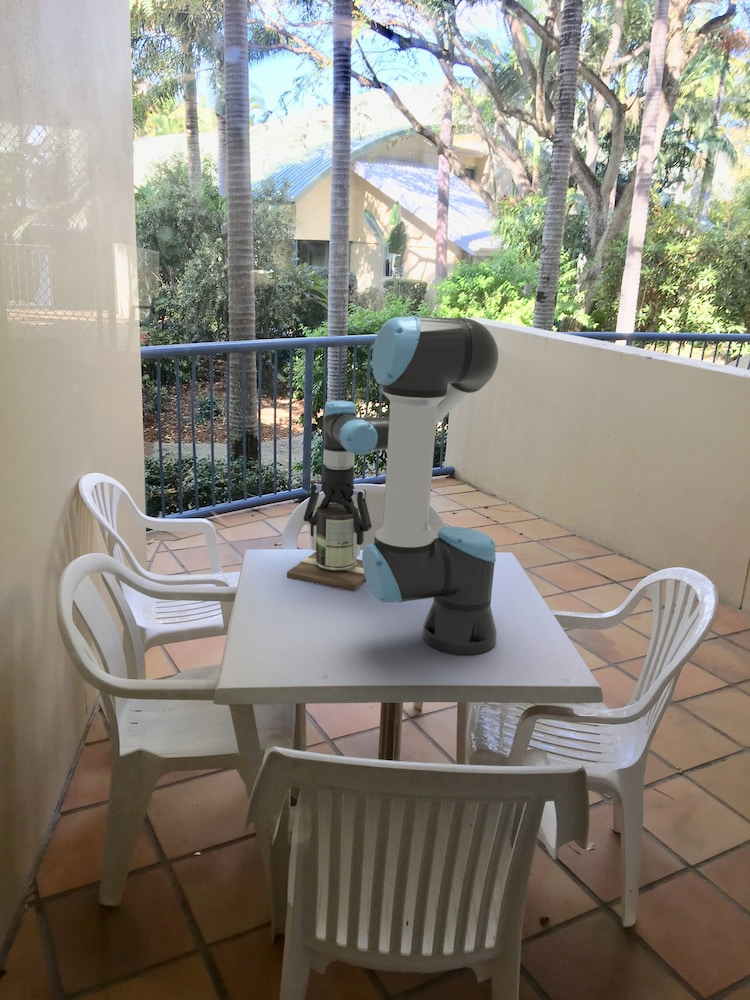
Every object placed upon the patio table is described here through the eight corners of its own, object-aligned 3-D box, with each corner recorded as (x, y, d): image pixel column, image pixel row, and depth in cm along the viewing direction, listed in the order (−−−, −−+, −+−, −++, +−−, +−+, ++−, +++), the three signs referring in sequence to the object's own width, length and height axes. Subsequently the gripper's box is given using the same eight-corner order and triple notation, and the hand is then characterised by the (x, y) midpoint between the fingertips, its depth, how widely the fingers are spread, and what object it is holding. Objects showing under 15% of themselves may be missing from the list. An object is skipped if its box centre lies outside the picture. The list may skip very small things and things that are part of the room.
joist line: (366, 574, 181) (366, 573, 181) (301, 561, 188) (301, 561, 188) (371, 570, 184) (371, 569, 184) (306, 558, 190) (306, 557, 190)
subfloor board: (354, 591, 175) (354, 585, 175) (286, 577, 181) (286, 571, 181) (379, 568, 189) (379, 563, 189) (316, 556, 196) (316, 551, 195)
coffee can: (307, 564, 184) (308, 510, 180) (330, 552, 192) (331, 500, 188) (342, 573, 179) (344, 518, 175) (364, 561, 187) (366, 508, 183)
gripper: (388, 468, 178) (384, 555, 184) (304, 457, 186) (302, 540, 192) (376, 475, 171) (372, 565, 177) (289, 463, 179) (289, 549, 185)
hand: (336, 552), depth 185 cm, fingers closed on coffee can, 10 cm apart
